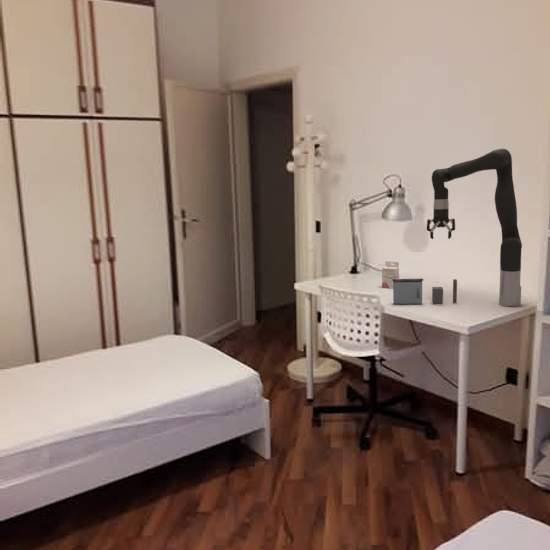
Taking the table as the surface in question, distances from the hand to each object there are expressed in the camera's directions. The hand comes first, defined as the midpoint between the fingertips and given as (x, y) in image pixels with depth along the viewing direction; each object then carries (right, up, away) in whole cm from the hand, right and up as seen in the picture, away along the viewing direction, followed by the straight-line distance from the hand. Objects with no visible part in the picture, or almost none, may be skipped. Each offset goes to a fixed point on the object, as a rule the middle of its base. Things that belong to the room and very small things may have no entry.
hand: (440, 238), depth 302 cm
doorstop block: (-5, -33, -12) cm, 36 cm away
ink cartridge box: (-21, -26, +27) cm, 43 cm away
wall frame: (-12, -33, -11) cm, 37 cm away
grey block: (-20, -33, -12) cm, 41 cm away
